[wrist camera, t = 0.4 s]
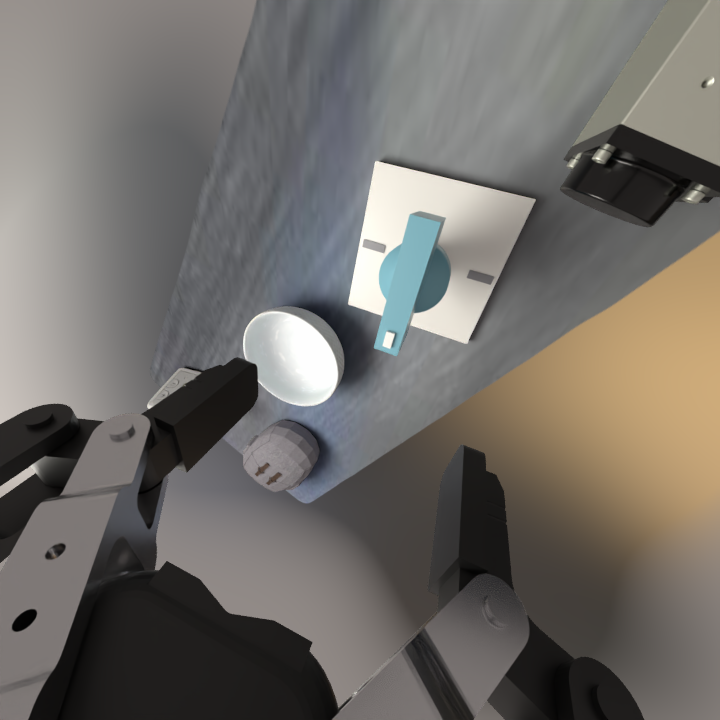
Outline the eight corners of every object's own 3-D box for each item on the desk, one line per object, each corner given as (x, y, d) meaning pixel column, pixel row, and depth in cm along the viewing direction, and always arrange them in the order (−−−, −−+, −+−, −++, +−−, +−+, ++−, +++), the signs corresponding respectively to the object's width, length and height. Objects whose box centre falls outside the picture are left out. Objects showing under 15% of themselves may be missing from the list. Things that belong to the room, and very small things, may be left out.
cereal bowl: (373, 344, 46) (359, 366, 41) (323, 398, 56) (306, 422, 50) (291, 275, 45) (264, 287, 39) (254, 342, 55) (228, 360, 49)
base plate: (378, 161, 34) (357, 155, 28) (534, 199, 31) (549, 200, 25) (350, 301, 44) (331, 319, 38) (466, 340, 41) (465, 366, 35)
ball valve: (606, 223, 30) (732, 251, 16) (531, 189, 31) (585, 185, 16) (824, -41, 20) (1790, -684, 5) (705, -85, 20) (1278, -767, 6)
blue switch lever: (402, 203, 28) (379, 206, 22) (472, 221, 27) (471, 231, 20) (374, 312, 35) (350, 341, 28) (430, 331, 34) (419, 365, 27)
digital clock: (244, 382, 61) (206, 414, 52) (243, 411, 66) (209, 445, 58) (181, 354, 63) (135, 379, 55) (185, 384, 68) (143, 412, 60)
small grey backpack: (294, 479, 73) (337, 448, 62) (276, 509, 66) (320, 480, 55) (248, 442, 72) (283, 403, 60) (224, 468, 65) (259, 429, 54)
